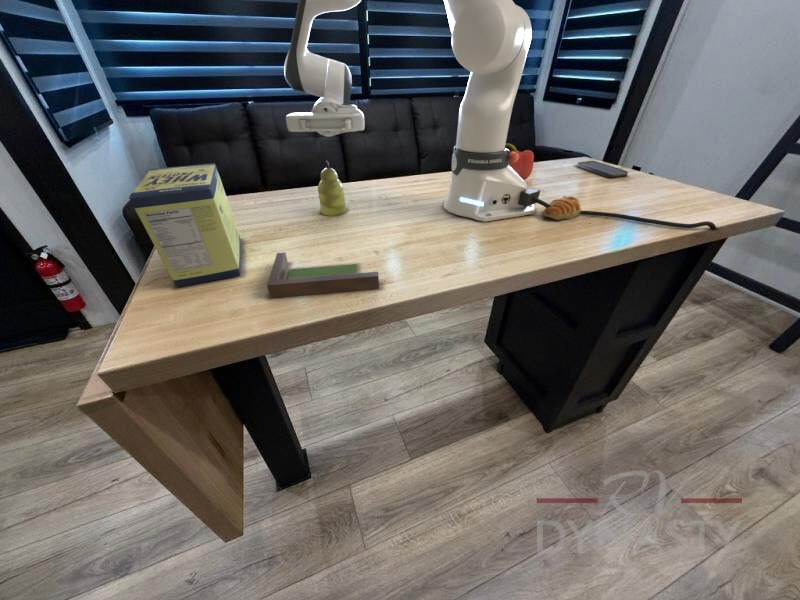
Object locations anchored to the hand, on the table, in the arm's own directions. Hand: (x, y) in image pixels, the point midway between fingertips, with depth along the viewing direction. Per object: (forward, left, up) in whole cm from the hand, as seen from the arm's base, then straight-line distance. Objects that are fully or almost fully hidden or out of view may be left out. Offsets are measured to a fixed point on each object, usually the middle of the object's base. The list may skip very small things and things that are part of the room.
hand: (325, 127), depth 79 cm
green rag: (+1, +43, -17) cm, 46 cm away
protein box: (+22, +34, -17) cm, 44 cm away
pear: (0, +12, -17) cm, 21 cm away
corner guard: (+1, +42, -17) cm, 46 cm away
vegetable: (-55, -5, -17) cm, 58 cm away
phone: (-89, -10, -17) cm, 91 cm away
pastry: (-55, +23, -17) cm, 62 cm away
